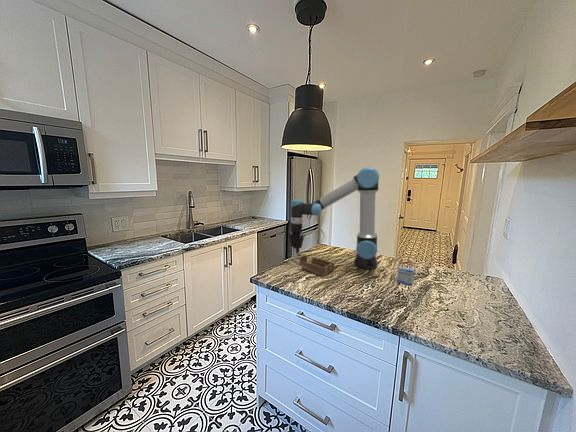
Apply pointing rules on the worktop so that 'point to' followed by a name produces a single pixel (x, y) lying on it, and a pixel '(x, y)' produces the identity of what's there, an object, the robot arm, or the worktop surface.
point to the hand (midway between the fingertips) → (296, 257)
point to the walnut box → (318, 267)
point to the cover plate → (298, 261)
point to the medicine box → (405, 275)
